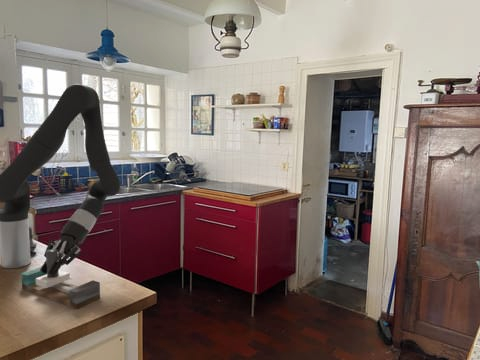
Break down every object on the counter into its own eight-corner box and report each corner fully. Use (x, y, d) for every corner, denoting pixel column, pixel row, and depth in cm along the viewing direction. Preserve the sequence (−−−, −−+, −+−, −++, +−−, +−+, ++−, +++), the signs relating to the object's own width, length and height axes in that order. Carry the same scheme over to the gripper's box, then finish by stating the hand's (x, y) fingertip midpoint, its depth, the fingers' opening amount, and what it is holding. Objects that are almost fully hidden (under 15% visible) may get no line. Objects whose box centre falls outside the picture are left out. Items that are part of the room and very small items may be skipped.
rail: (22, 288, 115) (21, 273, 114) (46, 279, 122) (45, 265, 121) (77, 309, 102) (76, 292, 102) (100, 298, 109) (99, 282, 109)
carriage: (35, 284, 111) (34, 253, 109) (59, 275, 118) (58, 246, 116) (46, 288, 108) (44, 256, 107) (69, 279, 115) (68, 248, 114)
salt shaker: (29, 257, 142) (27, 227, 141) (16, 255, 143) (14, 226, 142) (40, 252, 148) (39, 223, 146) (28, 250, 149) (26, 222, 147)
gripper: (57, 216, 120) (23, 263, 111) (86, 222, 114) (52, 272, 105) (72, 228, 126) (40, 274, 117) (100, 235, 119) (69, 283, 110)
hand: (46, 273), depth 111 cm, fingers closed on carriage, 3 cm apart
